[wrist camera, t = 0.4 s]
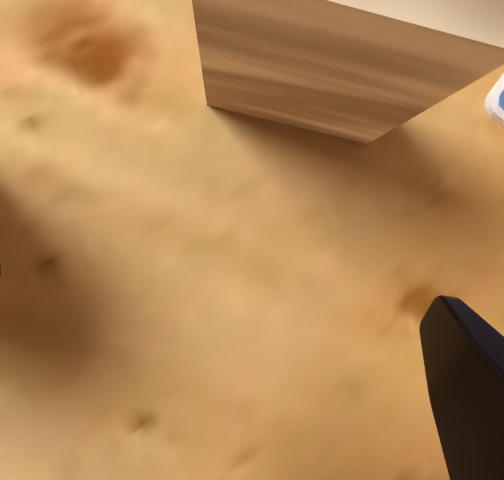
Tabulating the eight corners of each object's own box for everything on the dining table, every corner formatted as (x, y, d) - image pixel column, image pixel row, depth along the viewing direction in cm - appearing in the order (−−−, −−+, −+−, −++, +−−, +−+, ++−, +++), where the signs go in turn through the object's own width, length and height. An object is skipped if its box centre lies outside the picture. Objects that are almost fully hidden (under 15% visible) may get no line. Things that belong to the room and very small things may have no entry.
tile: (366, 144, 23) (523, 52, 11) (207, 105, 22) (186, -38, 10) (376, 100, 23) (544, -41, 11) (217, 59, 22) (208, -138, 10)
